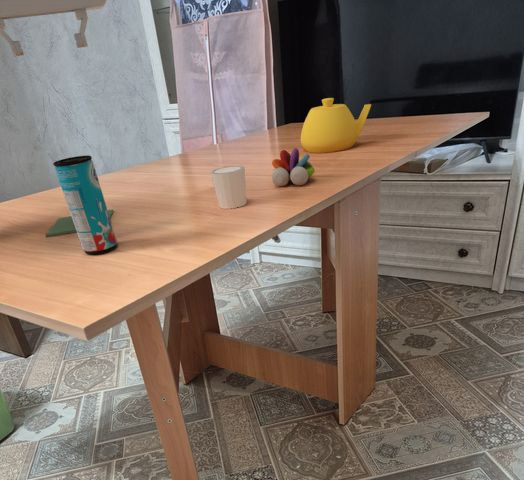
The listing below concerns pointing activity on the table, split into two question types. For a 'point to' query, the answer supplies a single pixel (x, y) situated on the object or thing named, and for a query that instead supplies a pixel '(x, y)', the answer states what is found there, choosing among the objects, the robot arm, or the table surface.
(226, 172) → the white cup
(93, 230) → the beverage can
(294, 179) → the rainbow petal toy
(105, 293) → the table surface
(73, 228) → the mat
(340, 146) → the teapot
